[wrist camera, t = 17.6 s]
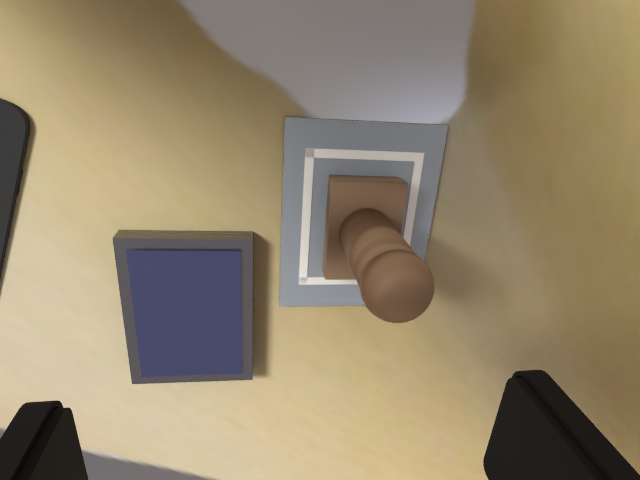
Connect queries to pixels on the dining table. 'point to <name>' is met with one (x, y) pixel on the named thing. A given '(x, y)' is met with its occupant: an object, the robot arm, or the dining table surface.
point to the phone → (10, 164)
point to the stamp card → (348, 159)
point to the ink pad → (186, 304)
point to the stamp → (374, 246)
